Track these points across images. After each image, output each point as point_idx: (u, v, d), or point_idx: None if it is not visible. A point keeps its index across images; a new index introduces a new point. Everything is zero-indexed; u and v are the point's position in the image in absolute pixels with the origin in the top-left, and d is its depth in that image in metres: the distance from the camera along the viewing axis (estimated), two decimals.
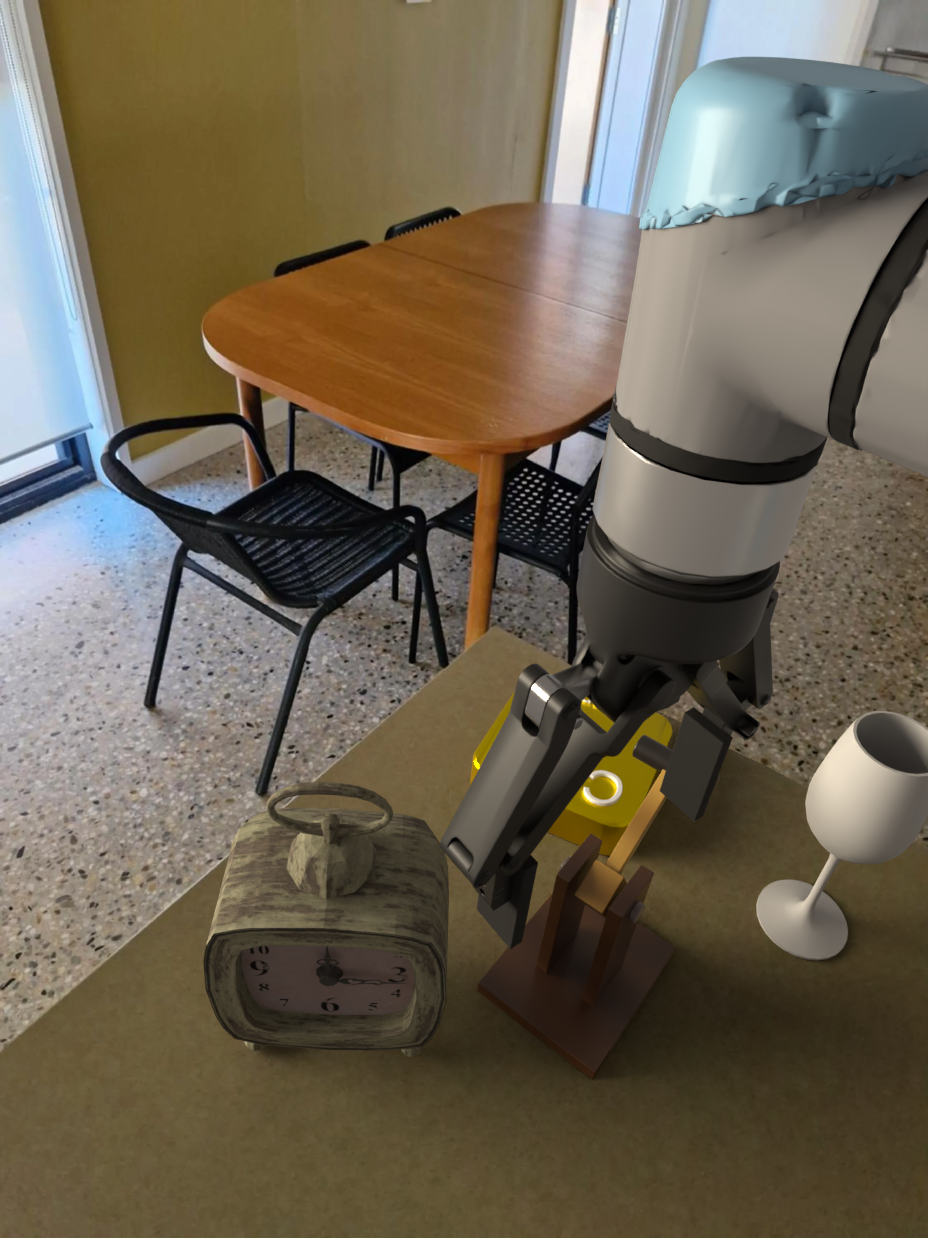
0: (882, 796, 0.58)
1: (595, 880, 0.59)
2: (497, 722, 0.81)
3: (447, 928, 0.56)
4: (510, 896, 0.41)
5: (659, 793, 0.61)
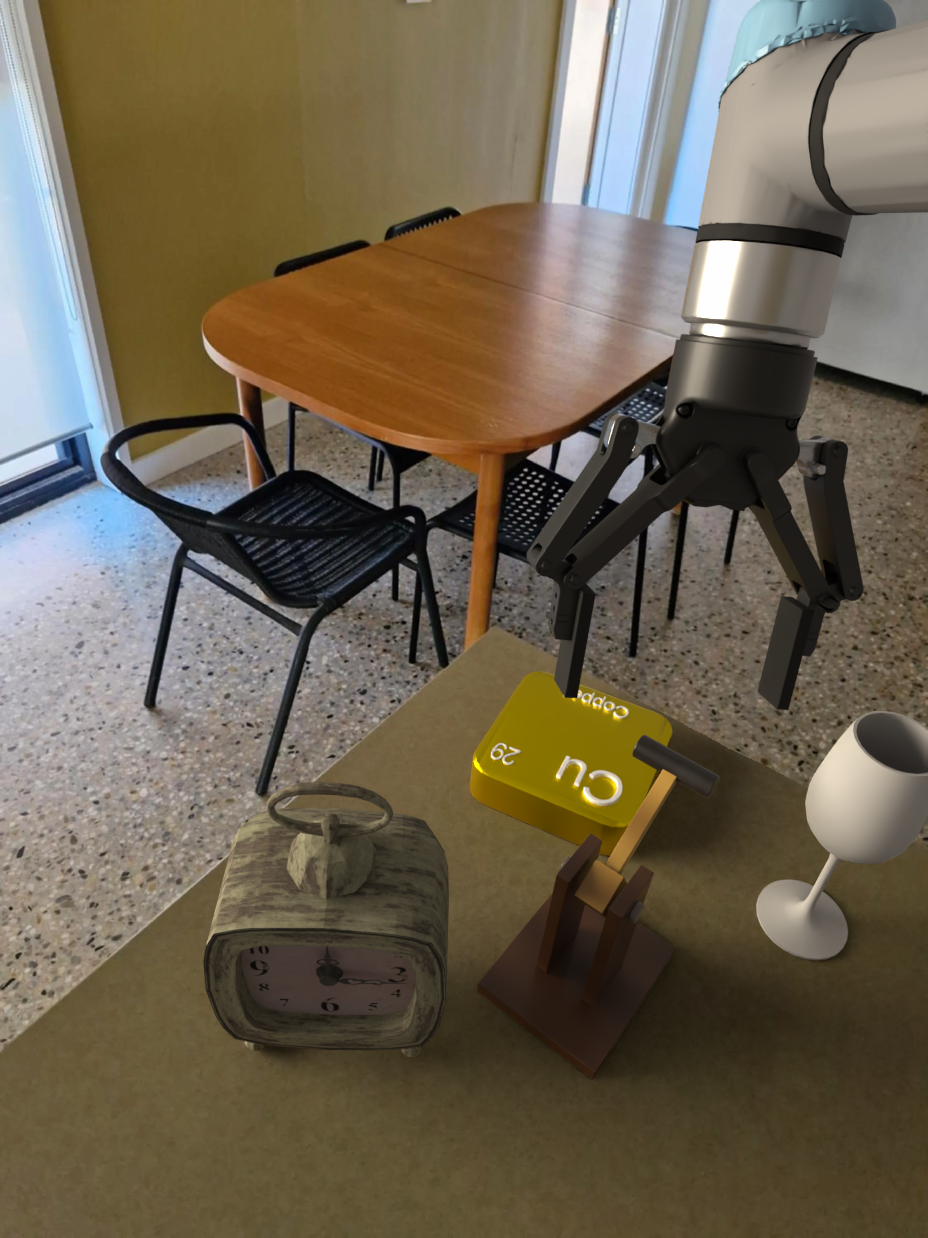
0: (882, 796, 0.58)
1: (595, 880, 0.59)
2: (497, 722, 0.81)
3: (447, 928, 0.56)
4: (572, 634, 0.52)
5: (659, 793, 0.61)
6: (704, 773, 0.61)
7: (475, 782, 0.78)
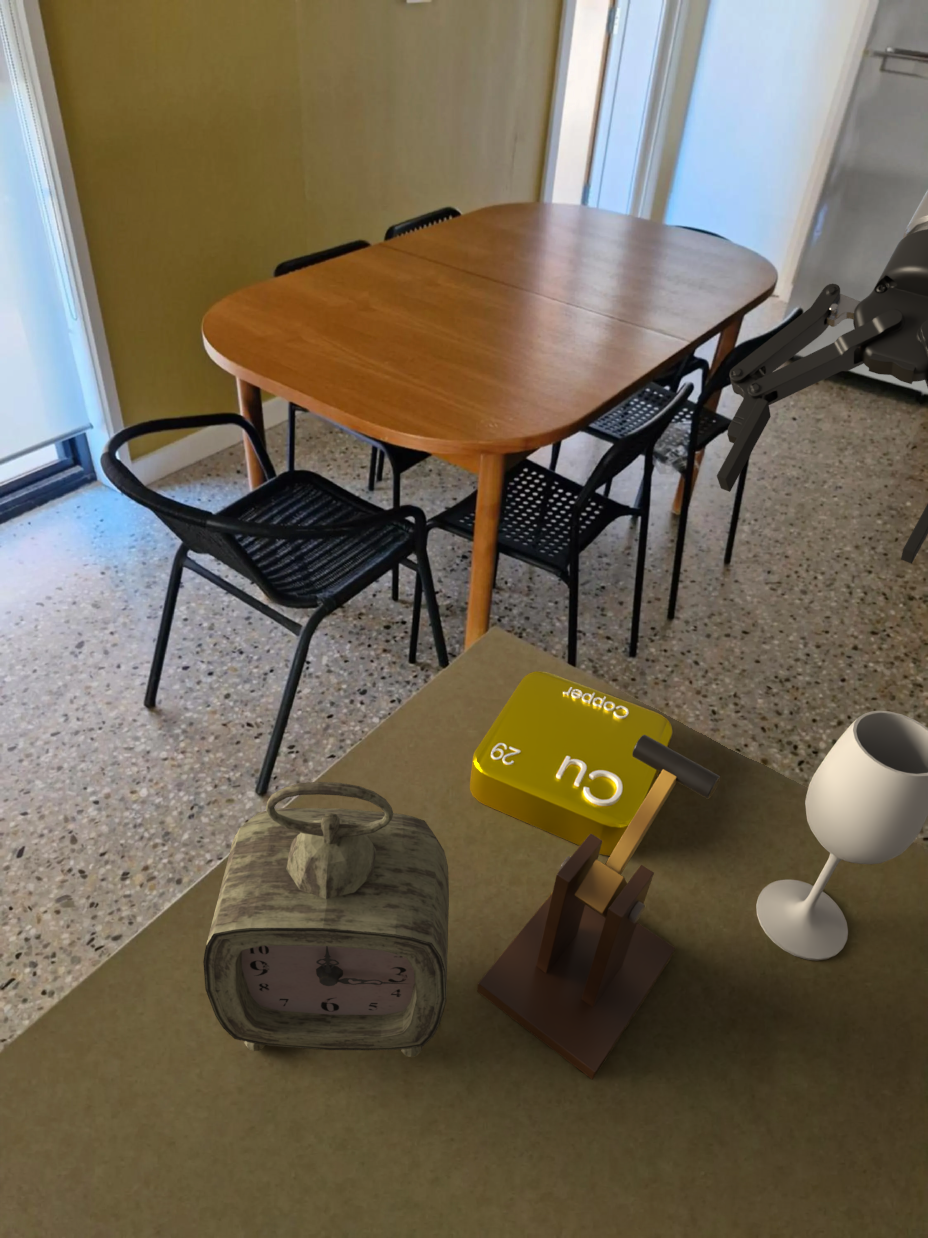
0: (882, 796, 0.58)
1: (595, 880, 0.59)
2: (497, 722, 0.81)
3: (447, 928, 0.56)
4: None
5: (659, 793, 0.61)
6: (704, 773, 0.61)
7: (475, 782, 0.78)
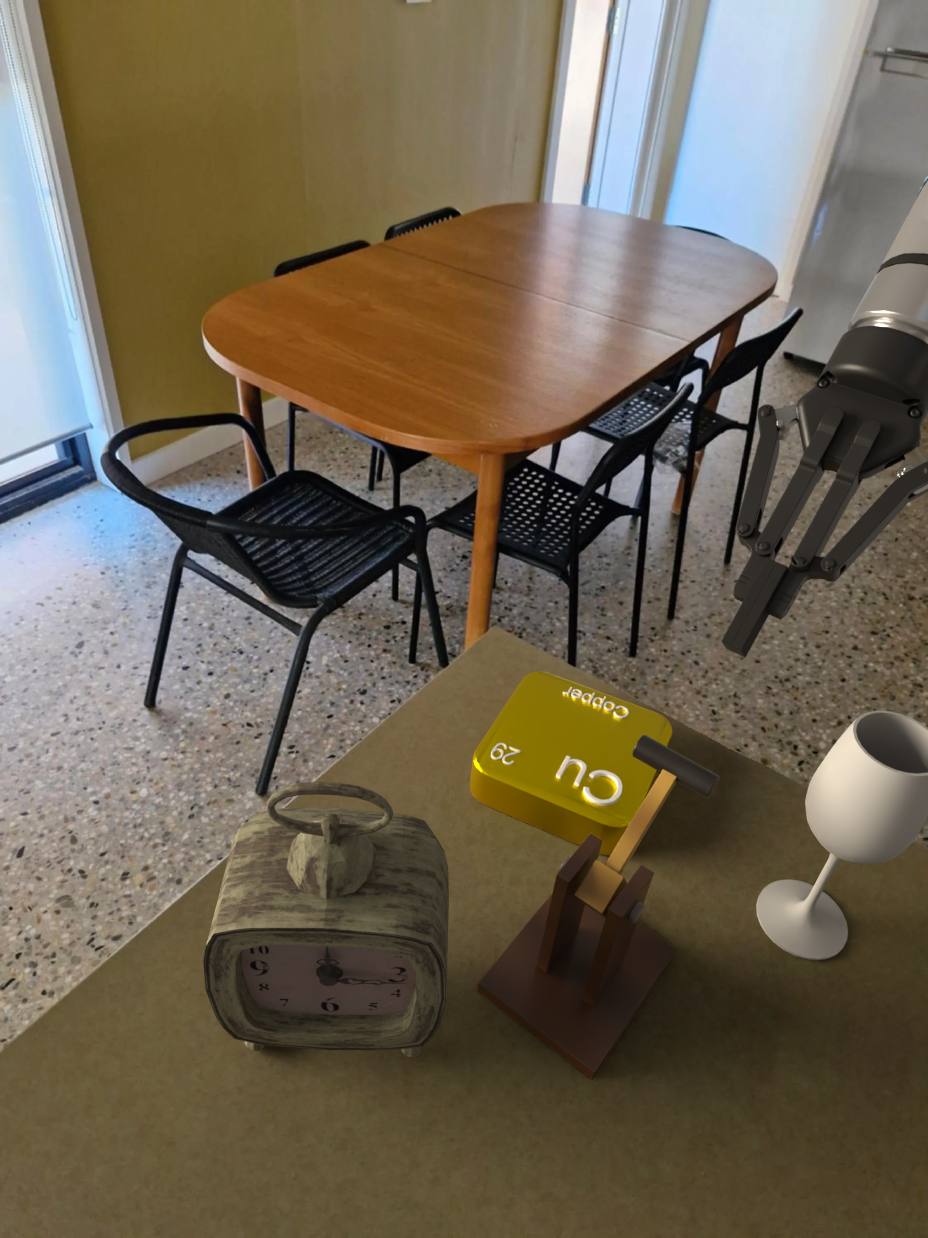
0: (882, 796, 0.58)
1: (595, 880, 0.59)
2: (497, 721, 0.81)
3: (447, 928, 0.56)
4: None
5: (659, 793, 0.61)
6: (704, 773, 0.61)
7: (475, 782, 0.78)
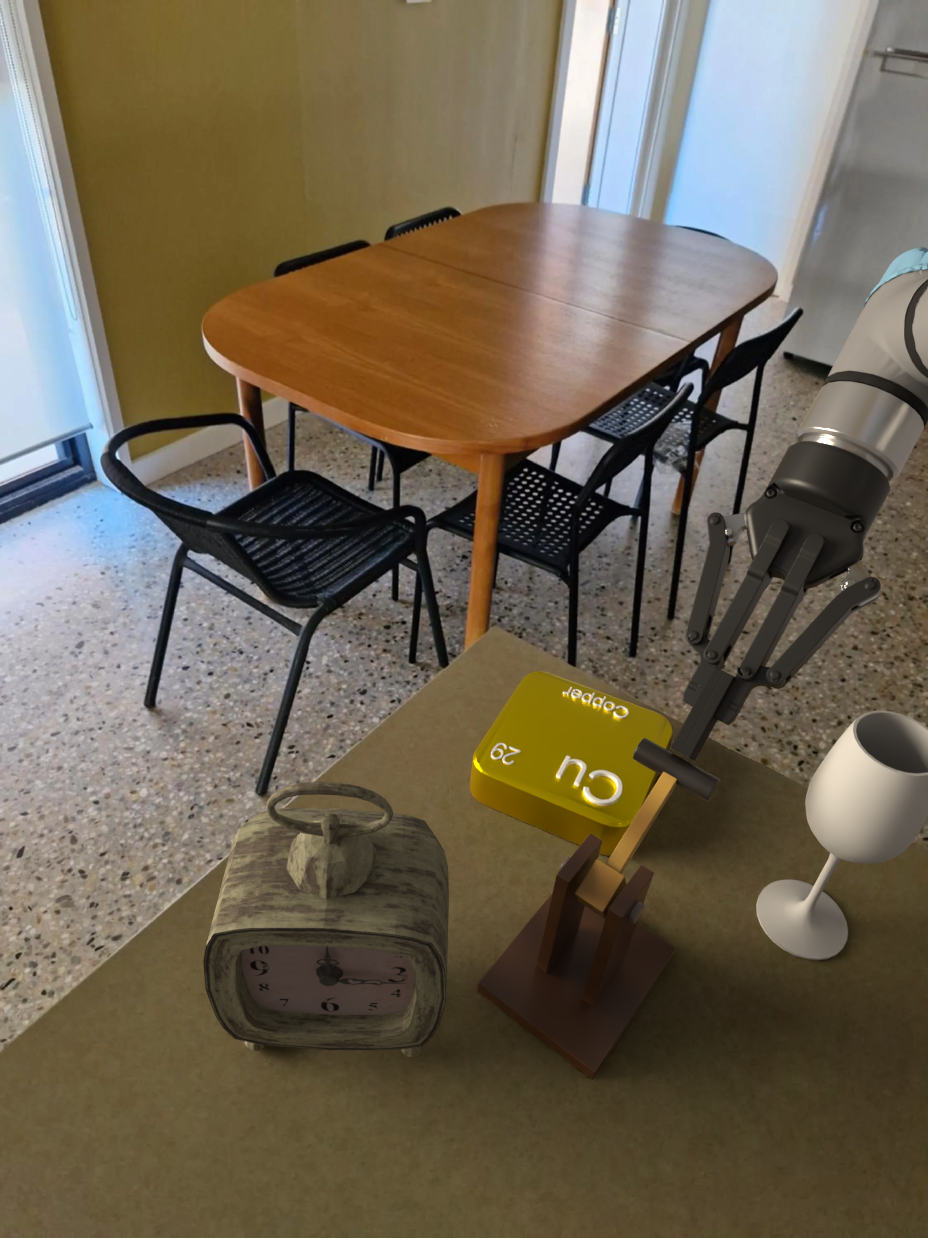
0: (882, 796, 0.58)
1: (596, 879, 0.59)
2: (497, 721, 0.81)
3: (447, 928, 0.56)
4: None
5: (660, 795, 0.62)
6: (704, 775, 0.62)
7: (475, 782, 0.78)
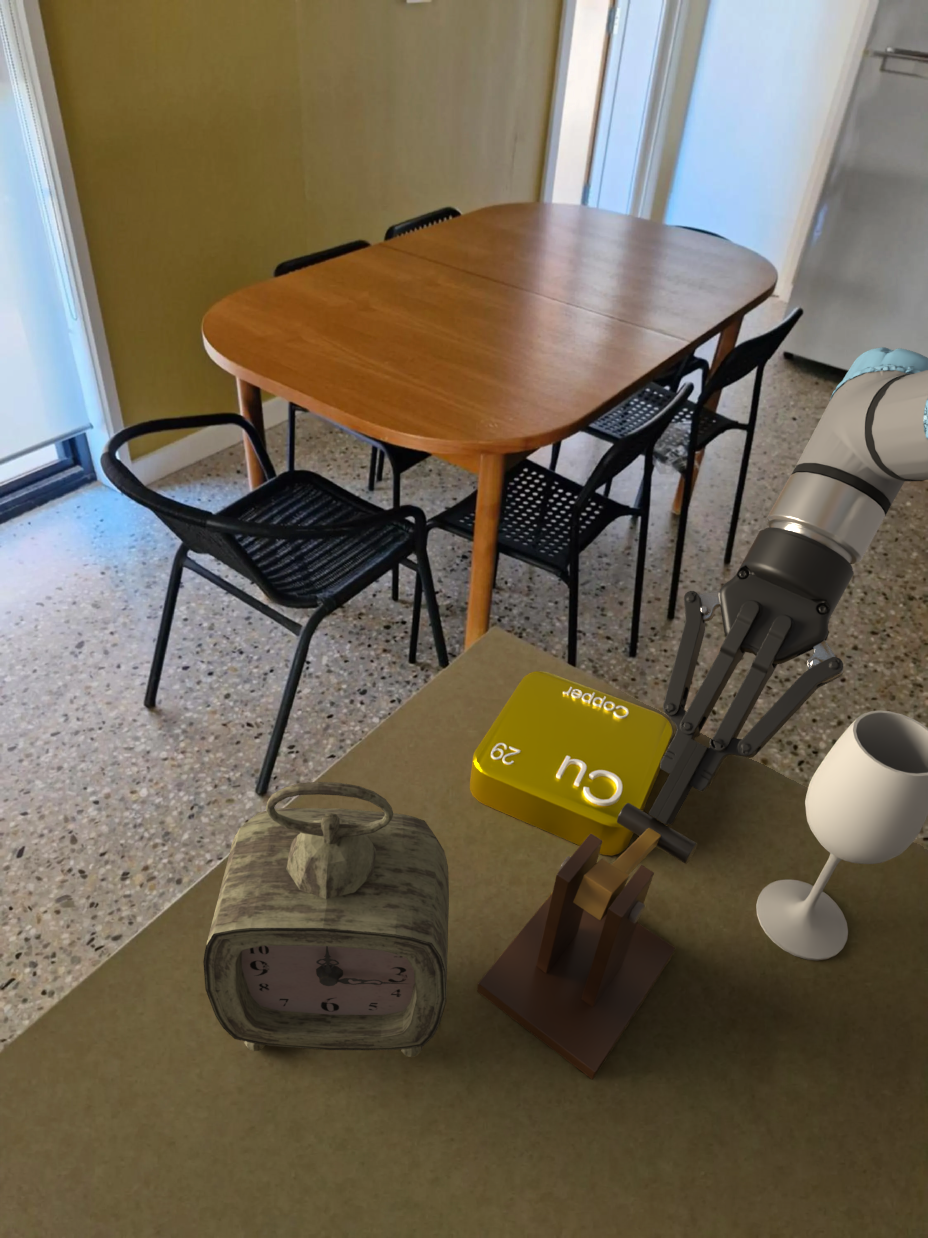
0: (882, 796, 0.58)
1: (603, 871, 0.60)
2: (497, 721, 0.81)
3: (447, 928, 0.56)
4: None
5: (648, 840, 0.66)
6: (685, 836, 0.67)
7: (475, 782, 0.78)
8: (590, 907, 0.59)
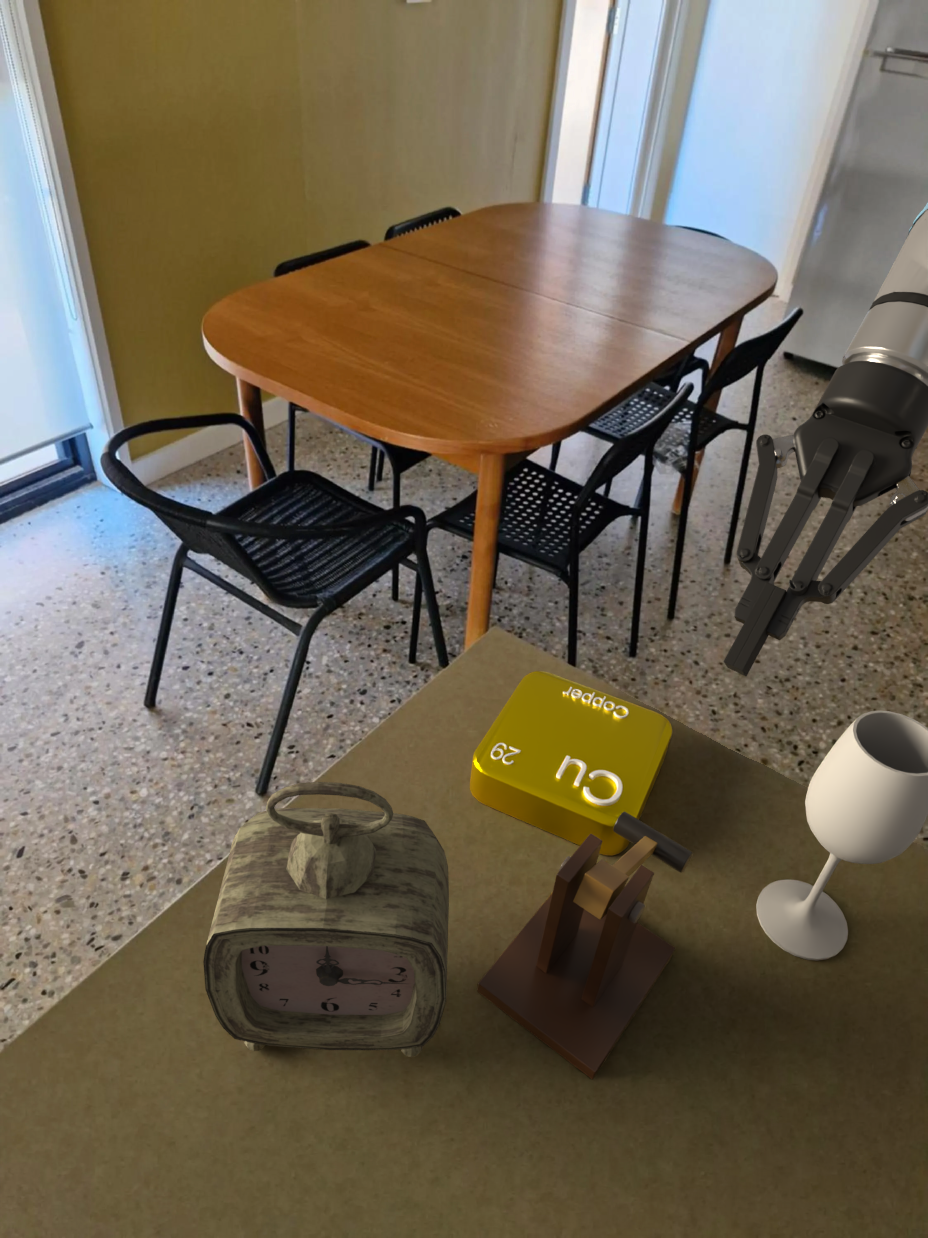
0: (882, 796, 0.58)
1: (603, 870, 0.60)
2: (497, 721, 0.81)
3: (447, 928, 0.56)
4: None
5: (645, 847, 0.66)
6: (681, 845, 0.68)
7: (475, 782, 0.78)
8: (590, 906, 0.59)
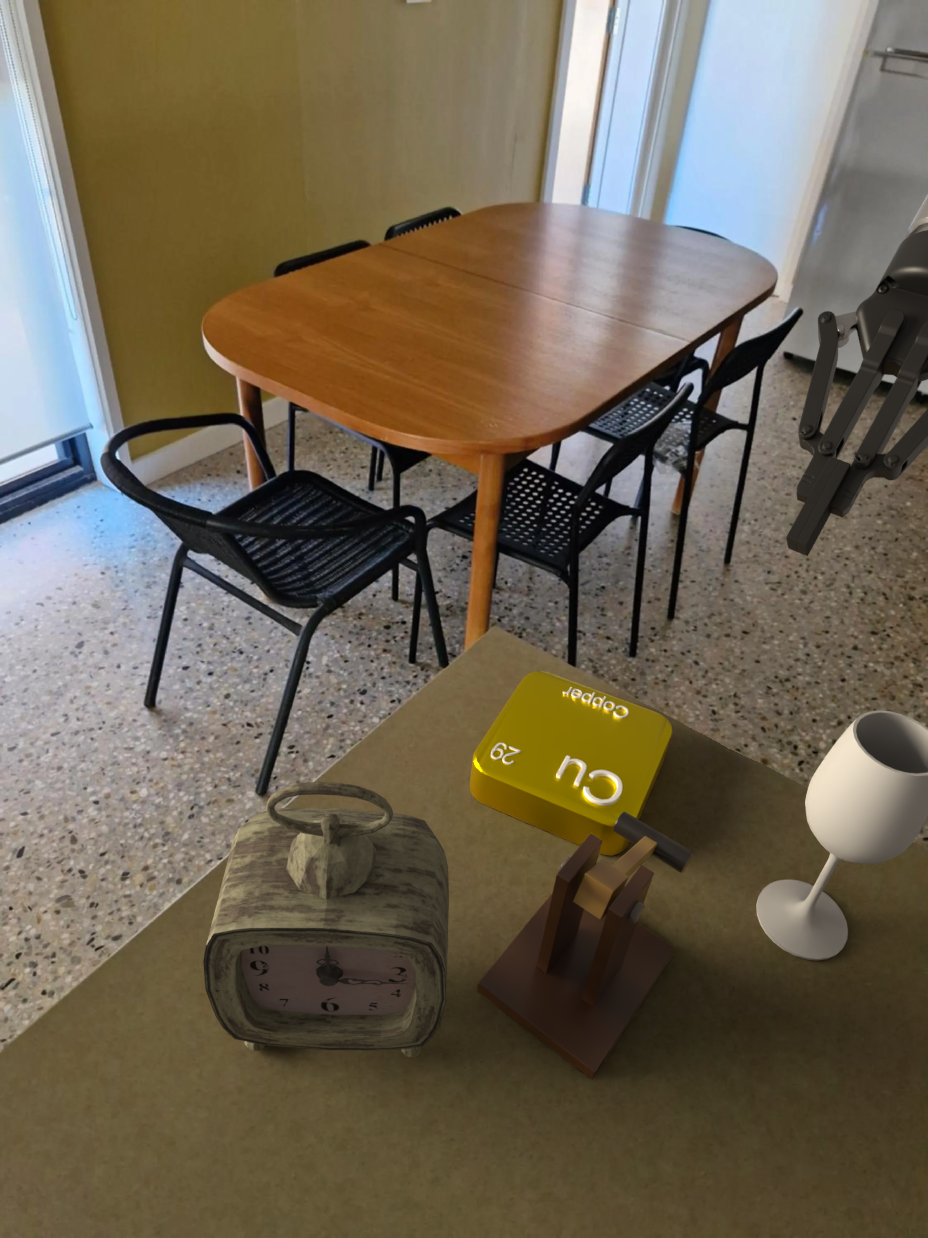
0: (882, 796, 0.58)
1: (603, 870, 0.60)
2: (497, 721, 0.81)
3: (447, 928, 0.56)
4: None
5: (645, 847, 0.66)
6: (681, 845, 0.68)
7: (475, 782, 0.78)
8: (590, 906, 0.59)
